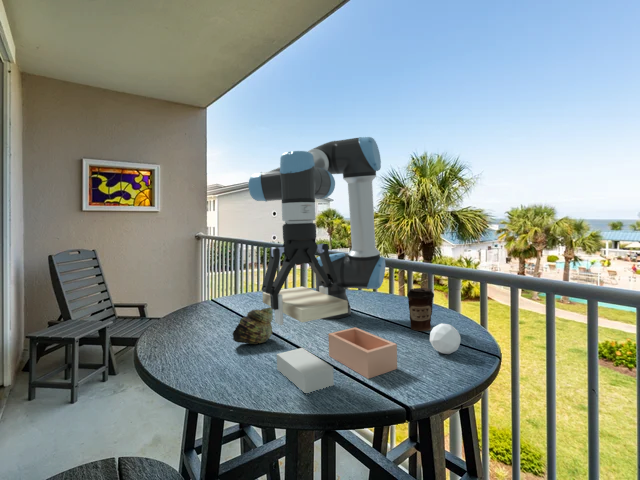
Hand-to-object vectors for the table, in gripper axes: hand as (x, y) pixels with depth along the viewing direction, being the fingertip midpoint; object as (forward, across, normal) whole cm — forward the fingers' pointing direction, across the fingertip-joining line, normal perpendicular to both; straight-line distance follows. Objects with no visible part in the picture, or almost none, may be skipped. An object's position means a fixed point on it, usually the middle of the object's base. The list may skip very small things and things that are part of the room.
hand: (302, 318), depth 76 cm
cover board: (-3, 0, 0) cm, 3 cm away
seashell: (+14, -1, +29) cm, 32 cm away
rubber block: (+14, 0, 0) cm, 14 cm away
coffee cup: (+14, +48, +8) cm, 50 cm away
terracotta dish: (+14, +16, -1) cm, 21 cm away
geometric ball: (+14, +38, -9) cm, 41 cm away
